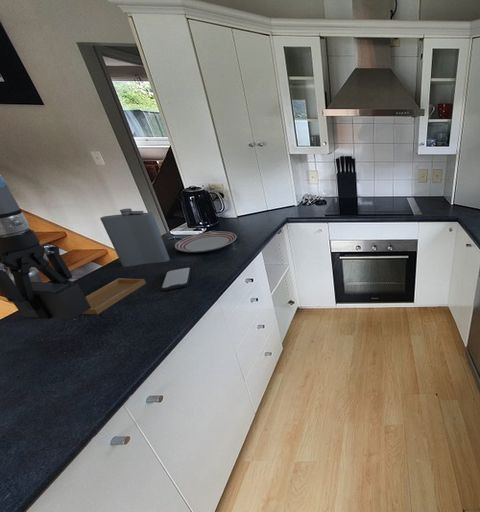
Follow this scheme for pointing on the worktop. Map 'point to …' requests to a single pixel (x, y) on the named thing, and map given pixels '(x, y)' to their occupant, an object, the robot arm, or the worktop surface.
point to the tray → (111, 294)
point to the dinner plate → (205, 241)
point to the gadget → (57, 300)
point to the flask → (135, 237)
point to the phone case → (176, 279)
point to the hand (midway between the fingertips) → (57, 311)
